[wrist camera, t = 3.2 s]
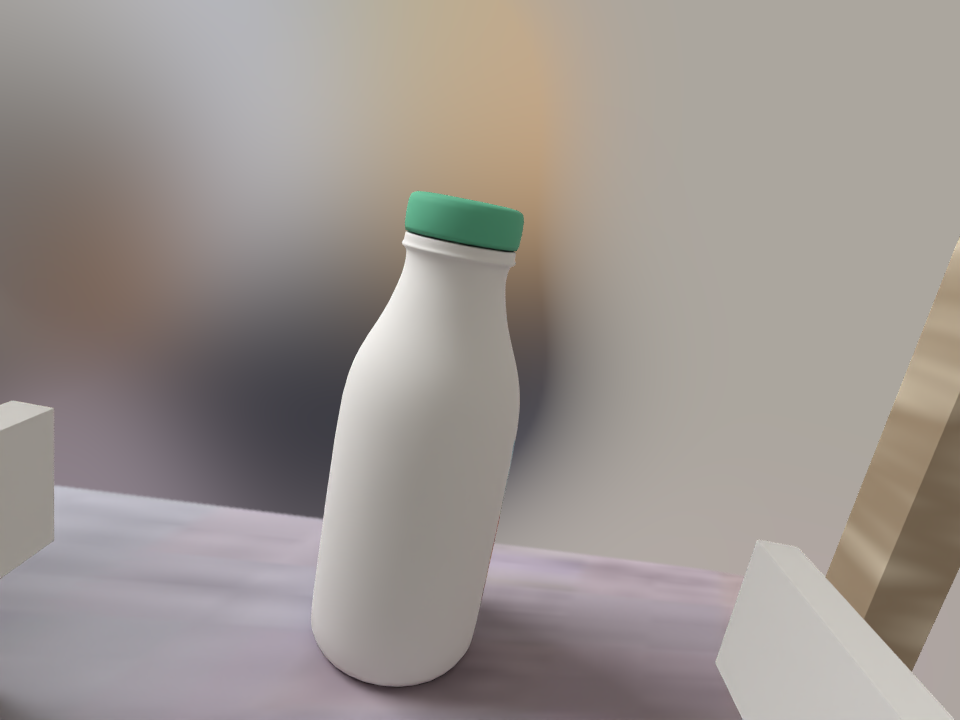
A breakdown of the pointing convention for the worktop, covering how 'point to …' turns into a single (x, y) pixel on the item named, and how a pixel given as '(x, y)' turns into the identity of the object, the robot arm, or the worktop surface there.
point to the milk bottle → (422, 453)
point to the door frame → (911, 494)
